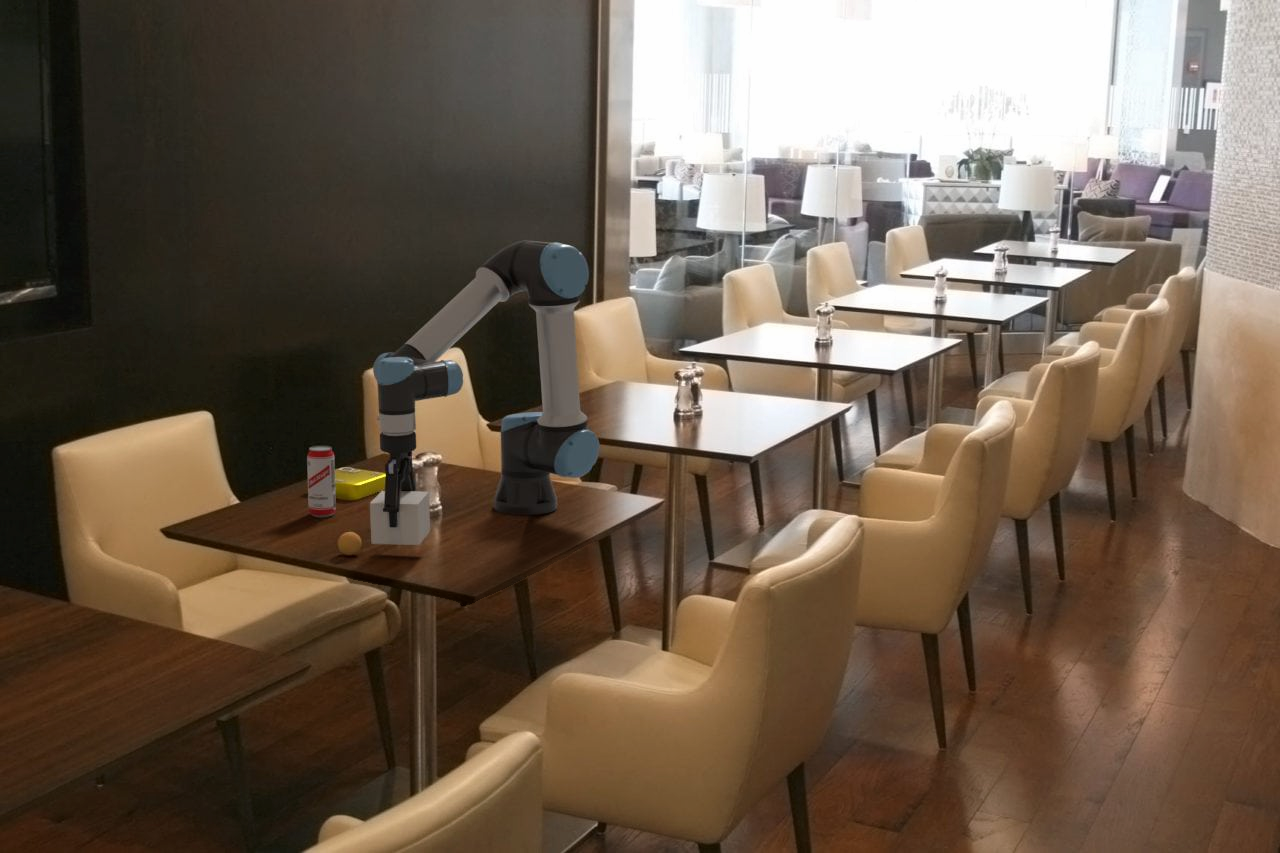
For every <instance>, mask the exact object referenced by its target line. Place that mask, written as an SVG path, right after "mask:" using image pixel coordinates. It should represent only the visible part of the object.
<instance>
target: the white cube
mask: <svg viewBox="0 0 1280 853" xmlns="http://www.w3.org/2000/svg"><path fill="white" fill-rule="evenodd" d="M384 500H385V491H381V492H379V493H377V495H376V497H374V498H373V499H372V500H371V501H370V503H369V515H370V518H369V519H370V537H371V538H370V540H371V545H398V546H399V545H401V546H402V545H404V546H405V545H407V546H409V545H410V546H420V545H421V544H422V543H423V541H424V540H425V539H426V537H427V536H428V535H429V533H430V532H431V516H430V513H431V512H430V511H431V510H430V492H429V491H419V490H418V491H416V490H415V491H401V496H400V507H399V509H400V510H399V511H401V529H402V541H401V542H388V520H387V512H383V508H384ZM390 506H393V505H390Z"/></svg>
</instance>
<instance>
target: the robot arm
mask: <svg viewBox="0 0 1280 853" xmlns="http://www.w3.org/2000/svg"><path fill="white" fill-rule="evenodd" d="M589 274H590V270H589V265H588V263H587V260H586V258H585V256H584V255H583V253H582V252H581V251H580V250H579V249H577V248H576V247H575V246H572V245H569V244H565V243H561V242H553V241H552V242H550V241H540V240H539V241H537V240H531V239H524V240H523V239H522V240H519V241H516V242H513V243H511V244H509V245H507V246H506V247H504V248H502V249H501V250H499V251H498V252H497V253H495V254H493V255H492V256H491V257H489V258H488V259H487V260H486V261H485V262H484V263H483V264H481V266H480V267H478V268H477V270H476V271H475V277H474V279H472V280H471V281H470V282H469V283H468V284H467V285H466V286H465V287H464V288H463V289H462V290H461V291H459V292H458V293H457V294H456V295H455V297H454V296H453V298H452V299H451V300H450V301H449V302H447V304H446V305H444V307H443V308H441V309H440V310H439V311H438V312H437V313H436V314H434V316H433V317H432V318H430V320H429V321H428V322H427V323H425V324H424V325H423V326H422V327H421V328H420V329H419V330H417V332H415V334H414V335H412V336H411V338H409V339H408V340H407V341H406V342H405V343H403V345H402V346H401V347H399V348H398V349H397V350H396V351H395V352H384V353H381V354H380V355H378V357H377V358H376V359H375V361H374V363H373V367H372V372H373V376H374V379H375V381H376V383H377V398H378V399H377V400H378V415H377V416H376V420H377V421H379V425H378V426H379V430H380V434H379V449H380V450H381V452H383V453H386V454H389V458H388V460H387V462H386V463H384V471H385V472H384V473H385V500H384V508H383V512H387V520H388V542H401V541H402V529H401V511H399V510H400V509H399V507H400V496H401V491H416V484H415V476H414V475H415V473H414V467H413V466H414V464H413V452H414V451H415V450H416V449H417V433H416V432H415V431H416V429H417V424H416V422H417V421H416V402H417V401H422V400H429V399H437V398H442V397H444V398H446V397H449V396H452V395H456V394H458V393H459V392H460V391H461V390H462V388H463V386H464V385H463V384H464V373H463V369H462V367H461V366H460V365H459V364H458V362H457V361H455V360H452V359H448V360H443V359H442V360H439V359H440V358H441V357H442V356H443V355H444V354H445V353H447V351H449V349H450V348H451V347H453V345H455V343H457V342H458V341H459V340H460V339H461V338H462V337H463V336H464V335H465V334H467V333H468V331H470V330H471V329H472V328H473V327H474V325H476V324H477V323H478V322H479V321H481V320H482V318H484V316H486V315H487V313H489V312H490V310H492V309H493V307H495V306H496V305H497V304H498V303H500V302H501V303H503V302H504V303H505V302H507V301H508V300H509V299H510V298H511V297H513V295H515V294H518V293H521V292H527V300H528V305H529V307H530V308H532V309H533V310H534V311H535V316H536V330H537V331H536V332H537V343H538V344H537V346H538V359H539V360H538V361H539V373H540V374H539V375H540V385H541V386H540V387H541V401H542V402H541V403H542V411H530V412H529V411H527V412H519V413H512V414H508V415H505V416H504V417H503V418H502V420H501V423H500V424H501V428H500V459H501V460H500V462H501V463H500V468H501V469H500V470H501V472H500V474H501V475H500V479H499V483H498V485H497V489H496V492H495V495H494V498H493V508H494V510H495V511H497V512H500V513H501V514H507V515H514V516H515V515H516V516H536V515H537V516H538V515H543V514H548V513H552V512H554V511H555V510H557V509H558V497H557V495H556V491H555V488H554V485H553V481H552V479H551V474H553V475H555V476H556V475H557V476H559V477H561V478H570V479H579V478H581V477H583V476H585V475H587V474H588V473H589V472H591V470H592V468H593V466H594V465H596V463H597V460H598V457H599V455H600V454H599V453H600V441H599V438H598V436H597V435H595V433H594V432H593V431H592V430H590V429H589V424H588V422H589V421H588V416H587V415H586V413H584V412H583V411H581V402H580V386H579V384H580V383H579V371H578V355H577V354H578V353H577V339H576V326H575V308H576V307H577V305H579V303H580V302H581V300H580V299H581V298H580V297H581V296H580V295H581V294H582V293H583V292H584V291H585V290H586V286H587V285H588V282H589V278H590V275H589ZM438 360H439V361H438ZM390 505H393V506H390Z"/></svg>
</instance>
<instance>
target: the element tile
mask: <svg viewBox="0 0 1280 853" xmlns="http://www.w3.org/2000/svg"><path fill="white" fill-rule="evenodd" d="M383 490H385V472H380V471H374V470H373V471H372V470H366V469H359V468H353V467H348V466H345V467H344V466H343V467H339V468H335V496H336V499H338V500H344V501H358V499H359V500H362V499H364V498H363V497H365V498H367V497H366V496H368V497H370V496H369V495H371V496H373V495H372V494H374V495H376V494H378V493H377V492H379V493H380V492H381V491H383ZM375 493H376V494H375ZM361 498H362V499H361Z"/></svg>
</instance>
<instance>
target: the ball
mask: <svg viewBox="0 0 1280 853" xmlns="http://www.w3.org/2000/svg"><path fill="white" fill-rule="evenodd" d="M362 545H363V544H362V538H361V537H360V535H359V534H357V533H356V532H354V531H348V532H347V531H346V532H344V533H343V534H341V535H340V536H339V538H338V541H337V548H338V550H339V551H340V553H342V554H343V555H345V556H354V555H356V554H358V553H359V552H360V550H361V549H362Z"/></svg>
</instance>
